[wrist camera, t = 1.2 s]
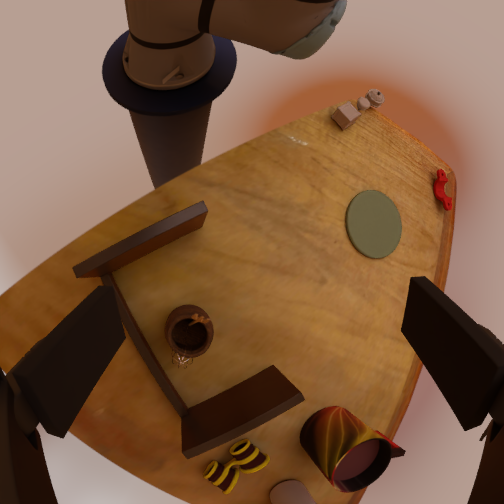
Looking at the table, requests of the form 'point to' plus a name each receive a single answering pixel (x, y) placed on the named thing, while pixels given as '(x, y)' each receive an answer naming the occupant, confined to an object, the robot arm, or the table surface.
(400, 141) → the table surface
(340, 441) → the mug
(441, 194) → the pipe clamp
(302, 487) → the beverage can
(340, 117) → the toy set
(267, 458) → the opera glasses
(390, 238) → the rubber mat
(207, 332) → the utensil holder
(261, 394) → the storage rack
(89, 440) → the table surface
